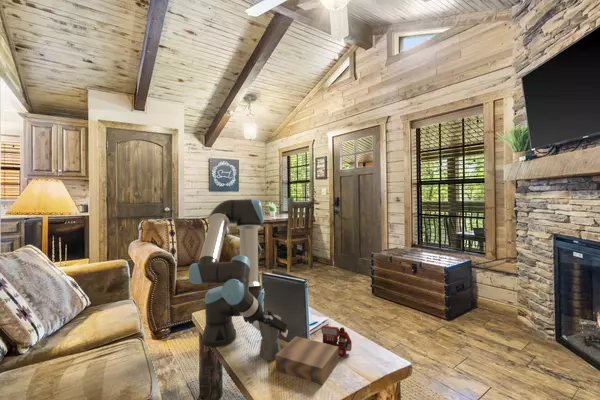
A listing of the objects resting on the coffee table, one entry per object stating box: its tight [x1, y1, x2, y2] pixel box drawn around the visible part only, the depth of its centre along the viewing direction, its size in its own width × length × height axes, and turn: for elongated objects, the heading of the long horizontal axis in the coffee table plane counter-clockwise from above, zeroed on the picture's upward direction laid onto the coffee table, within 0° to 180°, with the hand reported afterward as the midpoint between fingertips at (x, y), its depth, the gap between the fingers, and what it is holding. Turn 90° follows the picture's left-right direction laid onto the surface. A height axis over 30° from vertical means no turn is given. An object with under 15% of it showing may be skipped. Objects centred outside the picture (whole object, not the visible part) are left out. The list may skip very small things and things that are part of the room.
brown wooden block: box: [274, 335, 340, 386], centre depth 113 cm, size 19×16×6 cm
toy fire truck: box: [321, 325, 352, 358], centre depth 123 cm, size 7×12×10 cm, turn 74°
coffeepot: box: [258, 310, 282, 362], centre depth 122 cm, size 15×9×18 cm, turn 12°
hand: (273, 330), depth 124 cm, fingers open, 12 cm apart
